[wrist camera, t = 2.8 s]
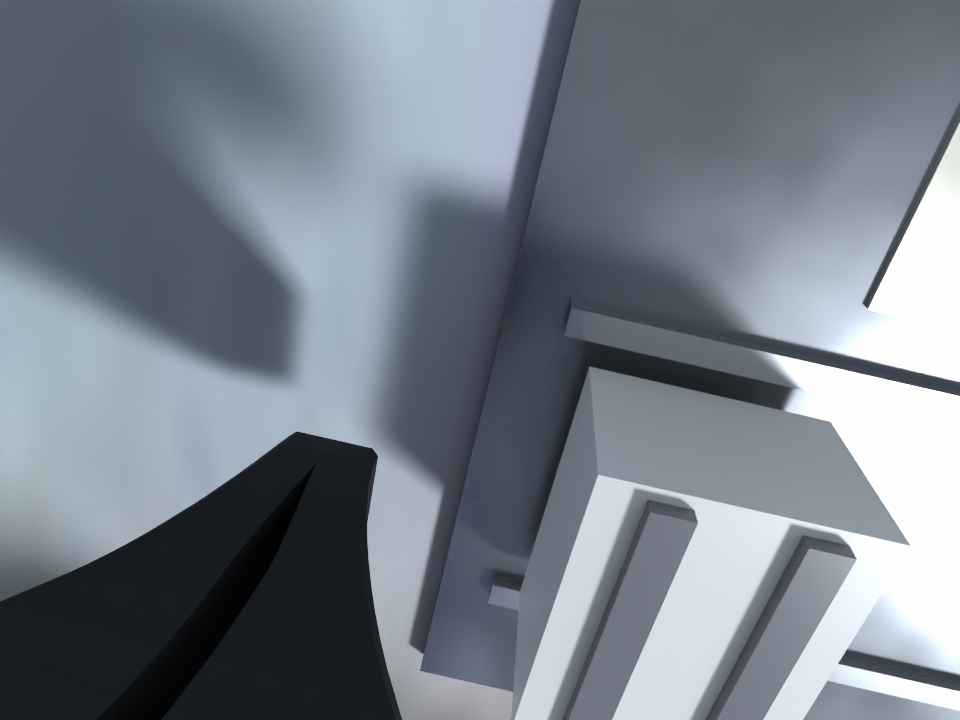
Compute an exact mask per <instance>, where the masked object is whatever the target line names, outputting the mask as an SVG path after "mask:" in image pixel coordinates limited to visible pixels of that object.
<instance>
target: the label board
mask: <svg viewBox="0 0 960 720" xmlns="http://www.w3.org/2000/svg"><path fill="white" fill-rule="evenodd" d="M589 367H594V368H598V369H602V370H607V371H611V372H616V373H620V374H624V375H629V376H633V377H638V378H642V379H646V380H651V381H655V382H659V383H664V384H668V385H673V386H677V387H681V388H686V389H690V390H695V391H699V392H703V393H708V394H712V395H716V396H721V397H725V398H730V399H734V400H738V401H743V402H747V403H752V404H756V405H760V406H765V407H769V408H773V409H778V410H782V411H787V412H791V413H795V414H800V415H804V416H809V417H813V418H817V419H822V420H826V421H830V422H831V423H832V424H833V426H834V428H835V429H836V431H837V432H838V434H839V435H840V437H841V438H842V440H843V441H844V443H845V445H846V446H847V448H848V449H849V451H850V452H851V454H852V455H853V457H854V458H855V460H856V462H857V463H858V465H859V466H860V468H861V469H862V471H863V472H864V474H865V475H866V477H867V479H868V480H869V482H870V483H871V485H872V486H873V488H874V489H875V491H876V492H877V494H878V495H879V497H880V499H881V500H882V502H883V503H884V505H885V506H886V508H887V509H888V511H889V512H890V514H891V516H892V517H893V519H894V520H895V522H896V523H897V525H898V526H899V528H900V529H901V531H902V533H903V534H904V536H905V537H906V539H907V540H908V542H909V543H910V545H911V547H910V549H909V550H908V552H907V554H906V555H905V557H904V558H903V560H902V562H901V563H900V565H899V566H898V568H897V570H896V571H895V573H894V575H893V576H892V578H891V579H890V581H889V583H888V584H887V586H886V587H885V589H884V591H883V592H882V594H881V595H880V597H879V599H878V600H877V602H876V603H875V605H874V607H873V608H872V610H871V611H870V613H869V615H868V616H867V618H866V619H865V621H864V623H863V624H862V626H861V627H860V629H859V631H858V632H857V634H856V636H855V637H854V639H853V640H852V642H851V644H850V645H849V647H848V648H847V650H846V652H845V653H844V655H843V656H842V658H841V660H840V661H839V663H838V664H837V666H836V668H835V669H834V671H833V672H832V674H831V676H830V677H829V679H828V680H827V682H826V684H825V685H824V687H823V688H822V690H821V692H820V693H819V695H818V697H817V698H816V700H815V701H814V703H813V705H812V706H811V708H810V709H809V711H808V713H807V714H806V716H805V717H804V719H803V720H960V0H580V3H579V7H578V11H577V15H576V19H575V23H574V28H573V32H572V36H571V40H570V44H569V49H568V53H567V57H566V61H565V65H564V69H563V74H562V78H561V82H560V86H559V90H558V95H557V99H556V103H555V107H554V111H553V115H552V120H551V124H550V128H549V132H548V136H547V141H546V145H545V149H544V153H543V157H542V161H541V166H540V170H539V174H538V178H537V182H536V187H535V191H534V195H533V199H532V203H531V207H530V212H529V216H528V220H527V224H526V228H525V233H524V237H523V241H522V245H521V249H520V253H519V258H518V262H517V266H516V270H515V274H514V279H513V283H512V287H511V291H510V295H509V299H508V304H507V308H506V312H505V316H504V320H503V325H502V329H501V333H500V337H499V341H498V345H497V350H496V354H495V358H494V362H493V366H492V371H491V375H490V379H489V383H488V387H487V391H486V396H485V400H484V404H483V408H482V412H481V417H480V421H479V425H478V429H477V433H476V437H475V442H474V446H473V450H472V454H471V458H470V463H469V467H468V471H467V475H466V479H465V483H464V488H463V492H462V496H461V500H460V504H459V509H458V513H457V517H456V521H455V525H454V529H453V534H452V538H451V542H450V546H449V550H448V555H447V559H446V563H445V567H444V571H443V575H442V580H441V584H440V588H439V592H438V596H437V601H436V605H435V609H434V613H433V617H432V621H431V626H430V630H429V634H428V638H427V642H426V647H425V651H424V655H423V660H422V664H421V669H420V671H424V672H429V673H433V674H437V675H442V676H446V677H451V678H455V679H459V680H464V681H468V682H473V683H477V684H481V685H486V686H490V687H495V688H499V689H503V690H508V691H512V692H513V687H514V672H515V657H516V642H517V628H518V613H519V598H520V589H521V586H522V583H523V580H524V576H525V573H526V570H527V567H528V563H529V560H530V557H531V554H532V551H533V547H534V544H535V541H536V538H537V534H538V531H539V528H540V525H541V521H542V518H543V515H544V512H545V509H546V505H547V502H548V499H549V496H550V492H551V489H552V486H553V483H554V479H555V476H556V473H557V470H558V466H559V463H560V460H561V457H562V454H563V450H564V447H565V444H566V441H567V437H568V434H569V431H570V428H571V424H572V421H573V418H574V415H575V411H576V408H577V405H578V402H579V399H580V395H581V392H582V389H583V386H584V382H585V379H586V376H587V373H588V369H589Z"/></svg>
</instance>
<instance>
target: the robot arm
mask: <svg viewBox="0 0 960 720" xmlns="http://www.w3.org/2000/svg"><path fill="white" fill-rule="evenodd" d="M377 459H378V456H377V454H376V453H375V452H374V450H373V449H372V448H368V447H363V446H359V445H354V444H350V443H345V442H341V441H337V440H332V439H328V438H323V437H319V436H314V435H310V434H305V433H301V432H295V433H294V434H292V435H290V436H289V437H287V438H286V439H285V440H283V441H282V442H281V443H279V444H278V445H277V446H275V447H274V448H273V449H271V450H270V451H269V452H267V453H266V454H265V455H263V456H262V457H261V458H259V459H258V460H257V461H255V462H254V463H253V464H251V465H250V466H248V467H247V468H246V469H244V470H243V471H242V472H240V473H239V474H237V475H236V476H235V477H233V478H232V479H230V480H229V481H227V482H226V483H224V484H223V485H221V486H220V487H219V488H217V489H216V490H214V491H213V492H211V493H210V494H208V495H207V496H205V497H204V498H202V499H201V500H199V501H198V502H196V503H195V504H193V505H192V506H190V507H188V508H187V509H185V510H183V511H182V512H180V513H179V514H177V515H175V516H174V517H172V518H170V519H169V520H167V521H166V522H164V523H162V524H161V525H159V526H157V527H156V528H154V529H152V530H151V531H149V532H147V533H146V534H144V535H142V536H140V537H138V538H137V539H135V540H133V541H131V542H129V543H128V544H126V545H124V546H122V547H120V548H118V549H116V550H115V551H113V552H111V553H109V554H107V555H105V556H103V557H101V558H99V559H97V560H95V561H93V562H91V563H89V564H87V565H85V566H82V567H80V568H78V569H76V570H74V571H72V572H69V573H67V574H65V575H62V576H60V577H57V578H55V579H53V580H50V581H48V582H46V583H43V584H41V585H39V586H36V587H34V588H32V589H29V590H27V591H25V592H22V593H20V594H17V595H15V596H13V597H10V598H8V599H6V600H3V601H1V602H0V720H402V718H401V715H400V711H399V708H398V704H397V701H396V698H395V694H394V691H393V687H392V684H391V681H390V677H389V674H388V670H387V666H386V662H385V658H384V654H383V649H382V645H381V640H380V636H379V631H378V625H377V620H376V615H375V609H374V603H373V596H372V589H371V581H370V571H369V562H368V547H367V520H368V514H369V508H370V502H371V496H372V490H373V483H374V477H375V471H376V465H377Z"/></svg>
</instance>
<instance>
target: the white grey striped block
mask: <svg viewBox="0 0 960 720" xmlns="http://www.w3.org/2000/svg"><path fill="white" fill-rule="evenodd" d="M910 547H911V545H910V543H909V542H908V540H907V539H906V537H905V536H904V534H903V533H902V531H901V529H900V528H899V526H898V525H897V523H896V522H895V520H894V519H893V517H892V516H891V514H890V512H889V511H888V509H887V508H886V506H885V505H884V503H883V502H882V500H881V499H880V497H879V495H878V494H877V492H876V491H875V489H874V488H873V486H872V485H871V483H870V482H869V480H868V479H867V477H866V475H865V474H864V472H863V471H862V469H861V468H860V466H859V465H858V463H857V462H856V460H855V458H854V457H853V455H852V454H851V452H850V451H849V449H848V448H847V446H846V445H845V443H844V441H843V440H842V438H841V437H840V435H839V434H838V432H837V431H836V429H835V428H834V426H833V424H832V423H831V422H830V421H826V420H822V419H817V418H813V417H809V416H804V415H800V414H795V413H791V412H787V411H782V410H778V409H773V408H769V407H765V406H760V405H756V404H752V403H747V402H743V401H738V400H734V399H730V398H725V397H721V396H716V395H712V394H708V393H703V392H699V391H695V390H690V389H686V388H681V387H677V386H673V385H668V384H664V383H659V382H655V381H651V380H646V379H642V378H638V377H633V376H629V375H624V374H620V373H616V372H611V371H607V370H602V369H598V368H594V367H589V369H588V373H587V376H586V379H585V382H584V386H583V389H582V392H581V395H580V399H579V402H578V405H577V408H576V411H575V415H574V418H573V421H572V424H571V428H570V431H569V434H568V437H567V441H566V444H565V447H564V450H563V454H562V457H561V460H560V463H559V466H558V470H557V473H556V476H555V479H554V483H553V486H552V489H551V492H550V496H549V499H548V502H547V505H546V509H545V512H544V515H543V518H542V521H541V525H540V528H539V531H538V534H537V538H536V541H535V544H534V547H533V551H532V554H531V557H530V560H529V563H528V567H527V570H526V573H525V576H524V580H523V583H522V586H521V589H520V598H519V613H518V628H517V642H516V657H515V672H514V687H513V701H512V716H511V720H803V719H804V717H805V716H806V714H807V713H808V711H809V709H810V708H811V706H812V705H813V703H814V701H815V700H816V698H817V697H818V695H819V693H820V692H821V690H822V688H823V687H824V685H825V684H826V682H827V680H828V679H829V677H830V676H831V674H832V672H833V671H834V669H835V668H836V666H837V664H838V663H839V661H840V660H841V658H842V656H843V655H844V653H845V652H846V650H847V648H848V647H849V645H850V644H851V642H852V640H853V639H854V637H855V636H856V634H857V632H858V631H859V629H860V627H861V626H862V624H863V623H864V621H865V619H866V618H867V616H868V615H869V613H870V611H871V610H872V608H873V607H874V605H875V603H876V602H877V600H878V599H879V597H880V595H881V594H882V592H883V591H884V589H885V587H886V586H887V584H888V583H889V581H890V579H891V578H892V576H893V575H894V573H895V571H896V570H897V568H898V566H899V565H900V563H901V562H902V560H903V558H904V557H905V555H906V554H907V552H908V550H909V549H910Z"/></svg>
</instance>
